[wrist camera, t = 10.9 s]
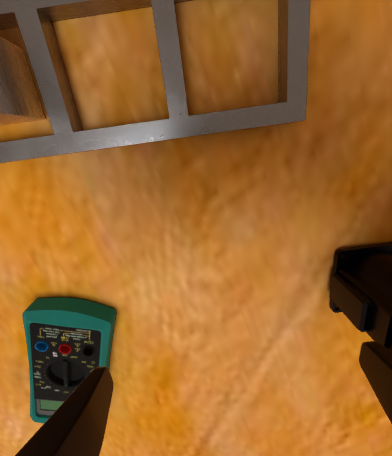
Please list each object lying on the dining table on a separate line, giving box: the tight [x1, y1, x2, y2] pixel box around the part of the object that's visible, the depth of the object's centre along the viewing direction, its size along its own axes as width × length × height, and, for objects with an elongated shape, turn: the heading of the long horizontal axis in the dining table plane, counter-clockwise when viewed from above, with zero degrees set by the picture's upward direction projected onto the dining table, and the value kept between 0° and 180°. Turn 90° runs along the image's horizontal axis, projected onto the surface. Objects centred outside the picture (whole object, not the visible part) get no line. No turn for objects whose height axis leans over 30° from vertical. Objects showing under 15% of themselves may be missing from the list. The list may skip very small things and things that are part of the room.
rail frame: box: [0, 0, 310, 163], centre depth 14 cm, size 23×10×2 cm, turn 97°
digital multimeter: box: [22, 297, 116, 423], centre depth 23 cm, size 7×15×3 cm, turn 169°
